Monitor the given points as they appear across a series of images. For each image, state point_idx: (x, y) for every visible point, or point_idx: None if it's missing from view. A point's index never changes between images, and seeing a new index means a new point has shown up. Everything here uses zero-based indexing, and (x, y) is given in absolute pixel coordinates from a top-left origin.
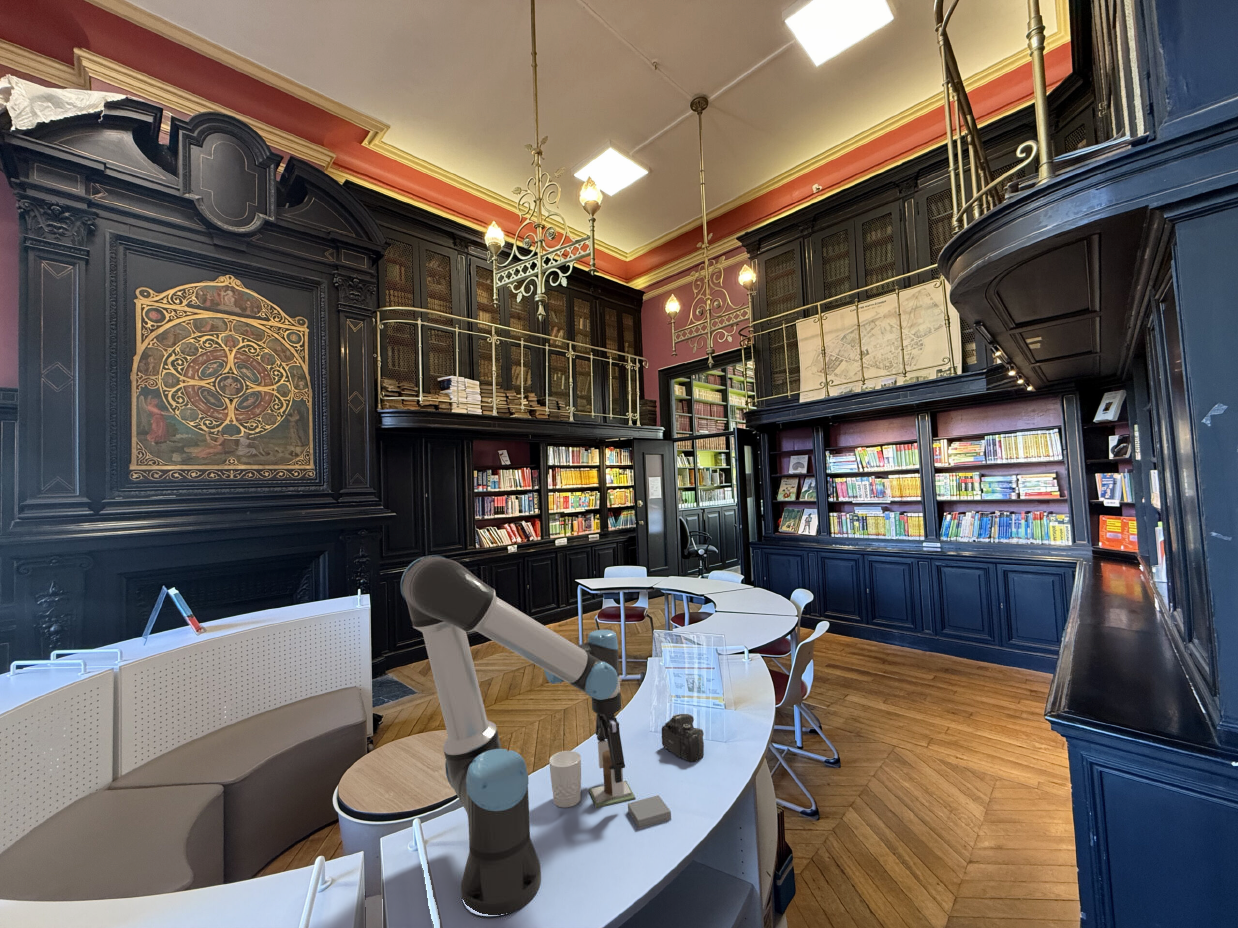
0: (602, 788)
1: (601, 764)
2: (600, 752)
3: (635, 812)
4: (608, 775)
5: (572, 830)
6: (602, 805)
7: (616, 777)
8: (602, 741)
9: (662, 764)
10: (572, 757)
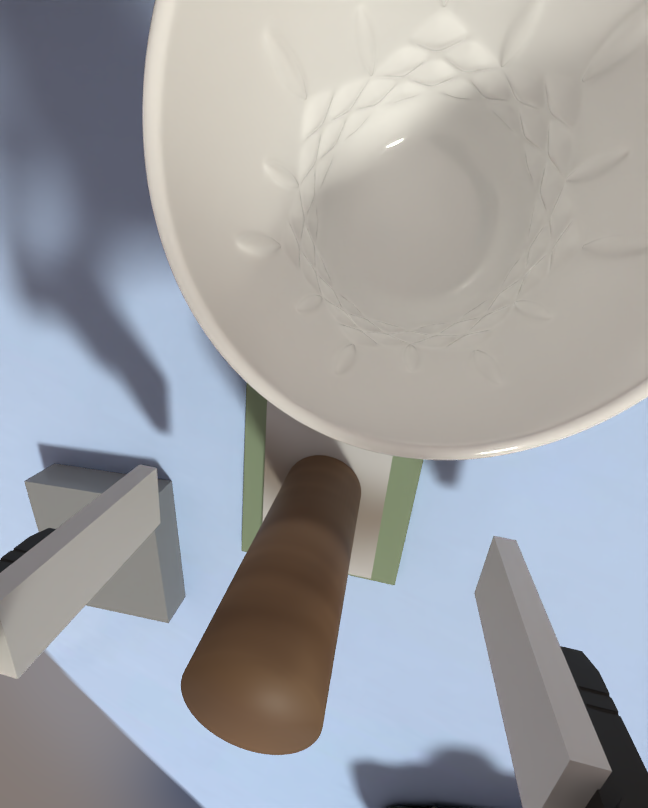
0: (367, 460)
1: (495, 564)
2: (524, 649)
3: (79, 496)
4: (256, 534)
5: (105, 172)
6: (247, 401)
7: (4, 559)
8: (570, 796)
9: (438, 743)
10: (577, 358)
